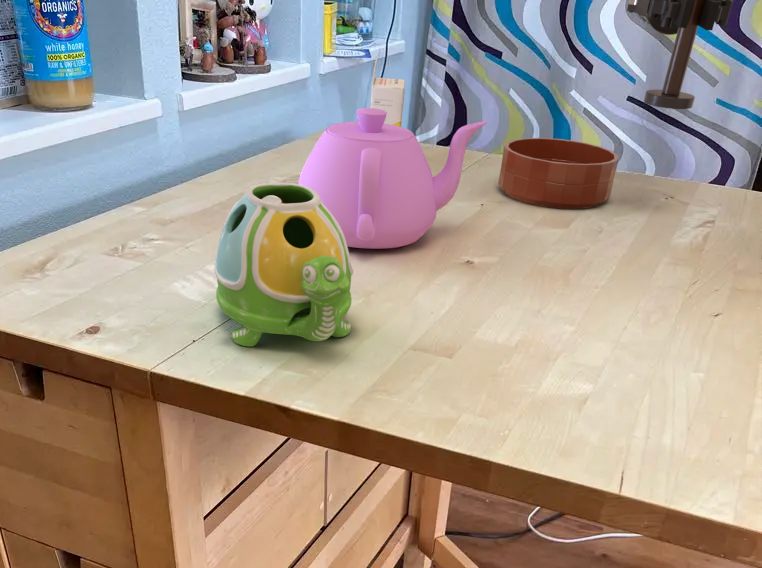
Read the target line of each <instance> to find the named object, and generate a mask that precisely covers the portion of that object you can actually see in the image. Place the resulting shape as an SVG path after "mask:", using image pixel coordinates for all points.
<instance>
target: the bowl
mask: <svg viewBox="0 0 762 568" xmlns="http://www.w3.org/2000/svg"><path fill="white" fill-rule="evenodd" d="M619 160H620V159H619V154H617V153H616V152H614V151H613V150H610V149H608V148H605V147H603V146H601V145H596V144H592V143H589V142H583V141H578V140H577V141H576V140H571V139H563V138H551V137H550V138H549V137H524V138H523V137H522V138H517V139H511V140H509V141H506V142H505V144H504V146H503V152H502V159H501V163H500V164H501V165H500V170H499V177H498V186H499V187H500V188H501V189H502V190H503V193H505V195H507V196H508V197H510V198H512V199H514V200H516V201H519V202H522V203H526V204H529V205H534V206H540V207H545V208H550V209H551V208H553V209H565V210H566V209H567V210H578V209H579V210H580V209H581V210H582V209H590V208H594V207H597V206H599V205H601V204H602V203H603V202H605V201H606V200H608V199H610V197H611V194H612V189H613V184H614V181H615V177H616V173H617V172H616V171H617V168H618V163H619Z"/></svg>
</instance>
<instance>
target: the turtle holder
mask: <svg viewBox="0 0 762 568" xmlns="http://www.w3.org/2000/svg"><path fill="white" fill-rule="evenodd" d="M269 196H273V197H276V198H278V199H280V203H278V202H277V203H276V202H270V201H267V200H263V199H264V198H266V197H269ZM213 267H214V268H213V270H214V275H215V278H216V283H217V287H216V292H215V296H216V301H217V304H218V306H219V308H220V309H221V310H222V312H223V313H224V314H225V315H227V317H229V318H230V319H232V320H233V321H234V322H236V323H238V324H240V325H242V327H240V328H236V329H234V330H232V333H231V340H232V341H233V342H234V343H236V344H237V345H240V346H243V347H249V348H250V347H254V346H256V345H257V344H258V343H259V341H260V340H261V337H262V335H263V333H266V334H273V335H275V334H276V335H287V336H289V335H290V336H297V337H301V338H303V339H306V340H308V341H312V342H323V341H326V340H328V339H329V338H330V337H331V336H332V337H333V338H342V337H346V336H348V335H349V334H350V333H351V331H352V325H351V323H350V322H349V321H347V320H343V319H344V318H345V316H346V315H347V313H348V312H349V310H350V309H351V306H352V294H351V285H352V284H351V283H352V276H353V274H354V270H353V269H354V268H353V265H352V262H351V257H350V252H349V247H348V246H347V244H346V240H345V237H344V234H343V232H342V230H341V227H340V226H339V224H338V222H337V221H336V219H335V218H334V217H333V215H332V214H331V213H330V211H329V210H328V209H327V208H326V207H325V206H324V204H323V203H322V202H321V199H320V196H319V195H318V193H317V192H316V191H314V190H313V189H312V188H310V187H308V186H305V185H301V184H298V183H296V182H295V183H293V182H264V183H258V184H253V185H250V186H249V187H248V188H247V189H246V191H245V193H244V194H243V195H242V196H241V197H240V198H239V199H238V200H237V201H236V202H235V203H234V205H233V206H232V208H231V209H230V210H229V213H228V214H227V216H226V219H225V220H224V223H223V226H222V229H221V233H220V237H219V241H218V246H217V253H216V256H215V261H214V266H213Z"/></svg>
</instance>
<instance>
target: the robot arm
mask: <svg viewBox="0 0 762 568" xmlns="http://www.w3.org/2000/svg"><path fill="white" fill-rule="evenodd" d="M693 1H694V0H628V4H627V9H626V12H629V13H631V14H632V13H634V14H637V16H638V17H639V18H640V19H641V20H642V22H644V23H646V24H647V25H649V26H650V27H651V28H652V29H653V30H655V31H656V32H657V35H659V36H662V35H666V36H672V35H677V31H678V28H687V24H688V20H689V17H690V13H691V9H692V5H693ZM733 4H734V0H705V3H704V6H703V10H702V14H701V17H700V21H699V25H698V27H700V28H701V29H703V30H705V31H713V29H714V25H718V26H719V27H724V26H727V24H728V20H729V16H730V13H731V10H732V6H733Z"/></svg>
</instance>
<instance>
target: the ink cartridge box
mask: <svg viewBox="0 0 762 568" xmlns="http://www.w3.org/2000/svg"><path fill="white" fill-rule="evenodd" d="M378 60H379V55H378V54H377V55H376V57H375V61H374V67H373V73H372V82H371V92H370V105H369V106H370V107H369V108H375V109H381V110H384V111H385V112H387V115H386V119H385V121H384V123H383V124H390V125H395V126H399V127H402V122H403V113H404V102H405V101H404V100H405V92H406V91H405V87H406V81H405V79H403V78H387V77H376V72H377V65H378Z"/></svg>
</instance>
